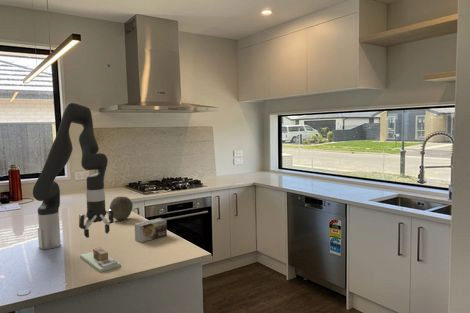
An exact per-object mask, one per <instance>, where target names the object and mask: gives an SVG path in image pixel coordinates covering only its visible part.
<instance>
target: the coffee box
mask: <svg viewBox="0 0 470 313" xmlns="http://www.w3.org/2000/svg"><path fill="white" fill-rule="evenodd" d="M167 229H168V228H167V219H165V218H162V217H158V218H155V219H153V218H152V219H150V220H146V221H142V222H141V221H140V222H136V223H134V240H135V241H136V242H139V243H142V244H143V243H145V242H149V241H151V240H155V239H160V238H163V237H165V236H167V235H168V234H167V232H168V230H167Z"/></svg>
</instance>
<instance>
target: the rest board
mask: <svg viewBox="0 0 470 313" xmlns="http://www.w3.org/2000/svg"><path fill="white" fill-rule="evenodd" d="M79 257H80V259H82V260H83V261H84V262H85V263H87V264H89V265H90V266H91V267H92V268H94V269H95V270H96V271H98V273H102V272H105V271H109V270H113V269H115V268H119V267H121V266H122V265H121V264H122V263H121V262H120V261H118V260H116V259H115V258H113V257H111V255H108V259H110V258H112V259H114V260H115V261H117V262H118V264H117V265H113V266H110V267H106V268H103V267H101V266H100V265H99V264H98V262H99V261H98V260H96V259H95V258H94V256H93V251H90V252H85V253H83V254H80V255H79Z"/></svg>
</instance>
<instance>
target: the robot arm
mask: <svg viewBox="0 0 470 313" xmlns="http://www.w3.org/2000/svg"><path fill="white" fill-rule="evenodd" d="M91 111H92V110H91V109H90V108H89V107H88V106H85V105H83V104H82V105H81V104H79V103H76V102H73V101H72V102H71V101H70V102H68V103H67V104H66V106H65V108H64V111H63V114H62V117H61V121H60V124H59V127H58V131H57V133H56V135H55V138H54V141H52V145H51V147H50V149H49V152H48V155H47V158H46V161H45V162H44V165H43V167H42V170H41V172H40V174H39V175H38V178H37V180H36V182H35V183H34V185H33V188H32V197H33V198H34V199H35V201H39V202H42V203H41V205H40V206H39V207H38V208H37V218H38V228H37V237H38V248H40V250H50V249H51V250H52V249H55V248H58V247H60V246H61V243H62V242H61V240H62V239H61V228H60V214H59V212H60V210H59V209H60V205H61V189H60V185H59V183H58V182H56V181H55V179H56V178H57V176H58V175H59V174H60V173H61V171H62V170H63V169H64V168H65V166H66V165H67V164H68V162H69V160H70V159H71V155H72V153H73V149H74V148H73V143H72V141H71V136H70V135H71V134H70V128H71V124H72V123H73V124H76V125H81V126H82V127H83V129H82V131H81V132H80V134H79V136H78V143H79V146H80V149H81V162H80V163H81V167H82V168H83V169H84V170H86V171H93V170H94V171H96V172H95V173H93V174H90V175H88V176H87V177H86V195H85V196H86V213H85V214H82V213H80V214H79V215H78V216H79V217H78V219H79V221H78V227H79V228H80V229H81V230H83V235H84V237H85V238H86V239H87V238H90V226H92V224H93V223H98V222H99V223H100V222H103V223H104V233H105V234H106V235H107V234H109V233H110V225H111V224H113V223H114V220H115V219H114V218H113V211H112V210H110V208H108V209H107V210H106V192H105V174H106V171H107V170H106V169H107V167H108V162H109V161H108V156H107V155H106V154H105V153H101V152H100V153H99V149H100V148H99V145H98V142H97V139H96V136H95V132H94V131H95V130H94V125H93V124H94V123H93V122H94V121H93V116H92V112H91ZM106 215H108V220H107V218H106ZM86 218H87V220H86ZM85 220H86V222H85Z"/></svg>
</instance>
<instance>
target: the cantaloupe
mask: <svg viewBox="0 0 470 313" xmlns="http://www.w3.org/2000/svg"><path fill="white" fill-rule="evenodd" d="M109 209H110V210H112V211H113V219H114V220H117V221H125V220H127V218H129V217H130V216H131V213H132V211H133V202H132V200H131V199H130V198H129V197H128V196H116V197H114V198H113V199H112V200H111V202H110V204H109Z"/></svg>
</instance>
